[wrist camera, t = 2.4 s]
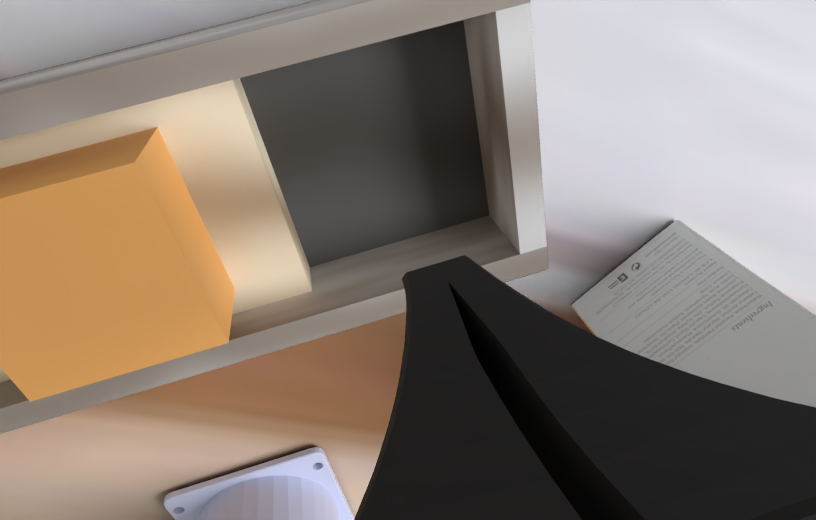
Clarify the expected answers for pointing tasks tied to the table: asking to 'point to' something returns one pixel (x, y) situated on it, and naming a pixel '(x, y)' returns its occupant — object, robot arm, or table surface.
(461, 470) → the robot arm
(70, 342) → the orange block
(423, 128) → the trap lane
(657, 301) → the small box
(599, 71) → the table surface
